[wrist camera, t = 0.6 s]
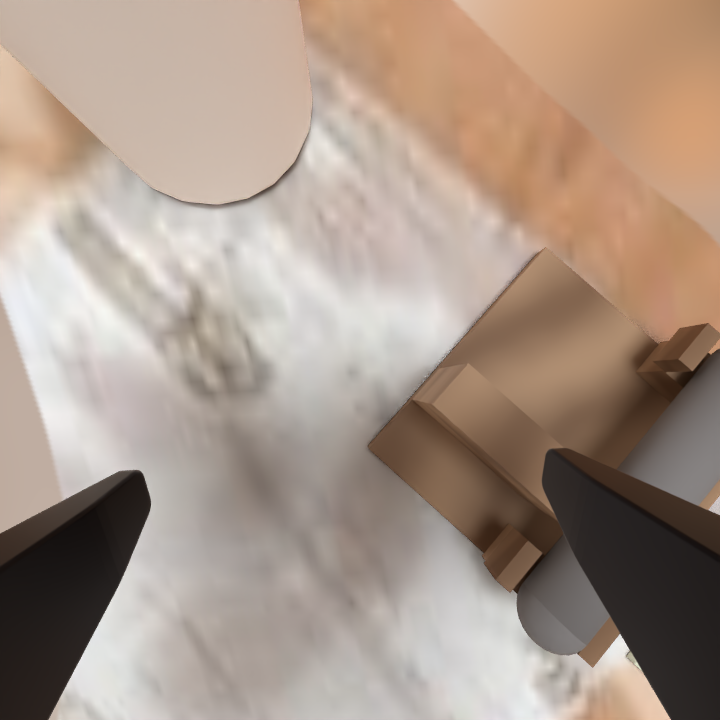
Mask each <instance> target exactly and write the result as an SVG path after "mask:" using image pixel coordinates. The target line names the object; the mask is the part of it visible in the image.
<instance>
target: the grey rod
mask: <svg viewBox="0 0 720 720" xmlns="http://www.w3.org/2000/svg"><path fill="white" fill-rule="evenodd" d="M616 470H619V471H621V472H623V473H625V474H628V475H630V476H632V477H634V478H637V479H639V480H641V481H643V482H646V483H648V484H650V485H652V486H655V487H657V488H659V489H661V490H664V491H666V492H668V493H670V494H673V495H675V496H677V497H679V498H682V499H684V500H686V501H688V502H691V503H693V504H695V505H697V506H699V505H700V503H701V502H702V501H703V500H704V498H705V497H706V496H707V495H708V493H709V492H710V491H711V490H712V488H713V487H714V486H715V485H716V483H717V482H718V481H719V480H720V349H718V350H716V351H715V352H714V353H712V354H711V355H710V356H709V357H708V359H707V360H706V361H705V362H704V363H703V365H702V366H701V367H700V368H699V370H698V371H697V372H696V373H695V374H694V376H693V377H692V378H691V379H690V380H689V382H688V383H687V384H686V385H685V387H684V388H683V389H682V390H681V391H680V393H679V394H678V395H677V396H676V397H675V399H674V400H673V401H672V402H671V404H670V405H669V406H668V407H667V408H666V410H665V411H664V412H663V413H662V414H661V416H660V417H659V418H658V419H657V421H656V422H655V423H654V424H653V425H652V427H651V428H650V429H649V430H648V431H647V433H646V434H645V435H644V436H643V438H642V439H641V440H640V441H639V442H638V444H637V445H636V446H635V447H634V448H633V450H632V451H631V452H630V453H629V455H628V456H627V457H626V458H625V459H624V461H623V462H622V463H621V464H620V466H619V467H618V468H617V469H616ZM517 612H518V616H519V619H520V622H521V624H522V626H523V628H524V630H525V631H526V633H527V634H528V636H529V637H530V638H531V639H532V640H533V641H534V642H535V643H536V644H537V645H539V646H540V647H542V648H543V649H545V650H547V651H549V652H551V653H554V654H558V655H572V654H576V653H578V652H580V651H582V650H583V649H584V648H585V647H586V646H587V645H588V644H589V642H590V641H591V640H592V639H593V637H594V636H595V635H596V633H597V632H598V631H599V630H600V628H601V627H602V626H603V625H604V623H605V622H606V621H607V620H608V618H609V617H610V616H609V614H608V612H607V610H606V609H605V607H604V605H603V604H602V602H601V600H600V599H599V597H598V595H597V594H596V592H595V590H594V588H593V587H592V585H591V583H590V582H589V580H588V578H587V577H586V575H585V573H584V572H583V570H582V568H581V566H580V565H579V563H578V561H577V559H576V558H575V556H574V554H573V552H572V550H571V548H570V546H569V544H568V542H567V540H566V538H565V535H564V534H563V535H562V536H561V537H560V538H559V540H558V541H557V542H556V543H555V544H554V546H553V547H552V548H551V549H550V551H549V552H548V553H547V554H546V555H545V557H544V558H543V559H542V560H541V561H540V563H539V564H538V565H537V566H536V568H535V569H534V570H533V571H532V572H531V574H530V575H529V576H528V577H527V579H526V580H525V581H524V582H523V584H522V585H521V587H520V589H519V591H518V594H517Z"/></svg>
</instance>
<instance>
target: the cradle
mask: <svg viewBox="0 0 720 720" xmlns="http://www.w3.org/2000/svg"><path fill="white" fill-rule="evenodd" d="M719 339H720V333H719V332H718V331H717V330H715V329H714V328H713V327H712V326H711V325H710V324H708V323H707V324H701V325H695V326H690V327H684V328H680V329H679V330H678V331H677V332H676V333H675V335H674V336H673V337H672V338H671V339H670V341H665V342H660V343H659V345H658V344H657V343H656V342H655V341H654V340H653V339H651V338H650V337H649V336H648V335H647V334H646V333H644V332H643V331H642V330H641V329H640V328H639V327H638V326H636V325H635V324H634V323H633V322H632V321H631V320H629V319H628V318H627V317H626V316H625V315H624V314H623V313H621V312H620V311H619V310H618V309H617V308H616V307H614V306H613V305H612V304H611V303H610V302H609V301H608V300H606V299H605V298H604V297H603V296H602V295H601V294H599V293H598V292H597V291H596V290H595V289H594V288H593V287H591V286H590V285H589V284H588V283H587V282H586V281H584V280H583V279H582V278H581V277H580V276H579V275H578V274H576V273H575V272H574V271H573V270H572V269H571V268H569V267H568V266H567V265H566V264H565V263H564V262H563V261H561V260H560V259H559V258H558V257H557V256H556V255H554V254H553V253H552V252H551V251H550V250H549V249H548V248H546V247H545V248H544V249H543V250H541V251H540V252H538V253H537V254H536V255H535V257H534V258H533V259H532V260H531V261H530V262H529V263H528V265H527V266H526V267H525V268H524V269H523V270H522V271H521V273H520V274H519V275H518V276H517V277H516V278H515V279H514V280H513V282H512V283H511V284H510V285H509V286H508V287H507V288H506V290H505V291H504V292H503V293H502V294H501V295H500V296H499V298H498V299H497V300H496V301H495V302H494V303H493V304H492V305H491V307H490V308H489V309H488V310H487V311H486V312H485V313H484V315H483V316H482V317H481V318H480V319H479V320H478V321H477V322H476V324H475V325H474V326H473V327H472V328H471V329H470V330H469V332H468V333H467V334H466V335H465V336H464V337H463V338H462V340H461V341H460V342H459V343H458V344H457V345H456V346H455V347H454V349H453V350H452V351H451V352H450V353H449V354H448V355H447V357H446V358H445V359H444V360H443V361H442V362H441V363H440V365H439V366H438V367H437V368H436V369H435V370H434V371H433V372H432V374H431V375H430V376H429V377H428V378H427V379H426V380H425V382H424V383H423V384H422V385H421V386H420V387H419V388H418V389H417V391H416V392H415V393H414V394H413V395H412V396H411V397H410V399H409V400H408V401H407V402H406V403H405V404H404V405H403V407H402V408H401V409H400V410H399V411H398V412H397V413H396V414H395V416H394V417H393V418H392V419H391V420H390V421H389V422H388V424H387V425H386V426H385V427H384V428H383V429H382V430H381V432H380V433H379V434H378V435H377V436H376V437H375V438H374V439H373V441H372V442H371V443H370V444H369V445H368V448H369V449H370V450H371V451H372V452H373V453H374V454H375V455H376V456H377V457H378V458H379V459H381V460H382V461H383V462H384V463H385V464H386V465H387V466H388V467H389V468H391V469H392V470H393V471H394V472H395V473H396V474H397V475H398V476H399V477H400V478H402V479H403V480H404V481H405V482H406V483H407V484H408V485H409V486H410V487H412V488H413V489H414V490H415V491H416V492H417V493H418V494H419V495H420V496H422V497H423V498H424V499H425V500H426V501H427V502H428V503H429V504H430V505H431V506H433V507H434V508H435V509H436V510H437V511H438V512H439V513H440V514H441V515H443V516H444V517H445V518H446V519H447V520H448V521H449V522H450V523H451V524H452V525H454V526H455V527H456V528H457V529H458V530H459V531H460V532H461V533H462V534H464V535H465V536H466V537H467V538H468V539H469V540H470V541H471V542H472V543H473V544H475V545H476V546H477V547H478V548H479V549H480V550H481V551H482V552H483V553H484V554H483V555H482V557H483V558H484V559H485V562H484V564H485V566H486V567H487V569H488V570H489V571H490V573H491V574H492V576H493V577H494V578H495V580H496V581H498V582H499V583H500V584H501V585H502V586H503V587H504V588H505V589H506V590H507V591H509V592H511V591H512V590H514V591H515V592H516V593H517V594H518V591H519V589H520V587H521V585H522V584H523V582H524V581H525V580H526V579H527V577H528V576H529V575H530V574H531V572H532V571H533V570H534V569H535V568H536V566H537V565H538V564H539V563H540V561H541V560H542V559H543V558H544V557H545V555H546V554H547V553H548V552H549V551H550V549H551V548H552V547H553V546H554V544H555V543H556V542H557V541H558V540H559V538H560V537H561V536H562V535H563V534H564V533H563V531H562V529H561V527H560V525H559V523H558V520H557V518H556V516H555V514H554V512H553V510H552V507H551V505H550V503H549V501H548V499H547V497H546V495H545V492H544V490H543V487H542V473H543V467H544V461H545V455H546V452H547V451H548V450H549V449H551V448H569V449H571V450H574V451H576V452H578V453H580V454H583V455H585V456H587V457H589V458H592V459H594V460H596V461H598V462H601V463H603V464H605V465H607V466H610V467H612V468H614V469H617V468H618V467H619V466H620V464H621V463H622V462H623V461H624V459H625V458H626V457H627V456H628V455H629V453H630V452H631V451H632V450H633V448H634V447H635V446H636V445H637V444H638V442H639V441H640V440H641V439H642V438H643V436H644V435H645V434H646V433H647V431H648V430H649V429H650V428H651V427H652V425H653V424H654V423H655V422H656V421H657V419H658V418H659V417H660V416H661V414H662V413H663V412H664V411H665V410H666V408H667V407H668V406H669V405H670V404H671V402H672V401H673V400H674V399H675V397H676V396H677V395H678V394H679V393H680V391H681V390H682V389H683V388H684V387H685V385H686V384H687V383H688V382H689V380H690V379H691V378H692V377H693V376H694V374H695V373H696V372H697V371H698V370H699V368H700V367H701V366H702V365H703V363H704V362H705V361H706V360H707V359H708V357H709V356H710V354H709V353H708V352H709V351H710V350H711V348H712V347H713V346H714V345H715V343H716V342H717V341H718V340H719ZM719 496H720V480H719V481H718V482H717V483H716V485H715V486H714V487H713V488H712V490H711V491H710V492H709V493H708V495H707V496H706V497H705V498H704V500H703V501H702V502H701V503H700V505H699V506H700V507H702V508H704V509H706V510H708V509H709V508H710V507H711V506H712V504H713V503H714V502H715V501H716V499H717V498H718V497H719ZM619 634H620V632H619V631H618V629H617V627H616V626H615V624H614V622H613V621H612V619H611V617H609V618H608V620H607V621H606V622H605V623H604V625H603V626H602V627H601V628H600V630H599V631H598V632H597V633H596V635H595V636H594V637H593V639H592V640H591V641H590V642H589V644H588V645H587V646H586V647H585V648H584V649H583V650H582V651H580V652H578V653H577V654H578V655H579V656H580V657H581V658H583V659H584V660H585V661H586V662H587V663H588V664H589V665H590V666H591V667H592V668H593V667H594V666H595V664H596V663H597V662H598V661H599V659H600V658H601V657H602V656H603V654H604V653H605V652H606V650H607V649H608V648H609V647H610V645H611V644H612V643H613V642H614V640H615V639H616V638H617V637H618V635H619Z"/></svg>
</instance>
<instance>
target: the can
mask: <svg viewBox="0 0 720 720" xmlns="http://www.w3.org/2000/svg"><path fill="white" fill-rule="evenodd" d="M0 44H1V45H2V46H3V47H4V48H5V49H6V50H7V51H8V52H9V53H10V54H11V55H12V56H13V57H14V58H15V59H16V60H17V61H18V62H19V63H20V64H21V65H22V66H23V67H24V68H25V69H26V70H28V71H29V72H30V73H31V74H32V75H33V76H34V77H35V78H36V79H37V80H38V81H39V82H40V83H41V84H42V85H43V86H44V87H45V88H46V89H47V90H48V91H49V92H50V93H51V94H52V95H54V96H55V97H56V98H57V99H58V100H59V101H60V102H61V103H62V104H63V105H64V106H65V107H66V108H67V109H68V110H69V111H70V112H71V113H72V114H73V115H74V116H75V117H76V118H77V119H78V120H80V121H81V122H82V123H83V124H84V125H85V126H86V127H87V128H88V129H89V130H90V131H91V132H92V133H93V134H94V135H95V136H96V137H97V138H98V139H99V140H100V141H101V142H102V143H103V144H104V145H105V146H107V147H108V148H109V149H110V150H111V151H112V152H113V153H114V154H115V155H116V156H117V157H118V158H119V159H120V160H121V161H122V162H123V163H124V164H125V165H126V166H127V167H128V168H130V169H131V170H132V171H133V172H134V173H135V174H136V175H137V176H139V177H140V178H141V179H142V180H143V181H144V182H145V183H147V184H148V185H149V186H150V187H151V188H153V189H155V190H158V191H160V192H162V193H165V194H167V195H169V196H172V197H174V198H176V199H179V200H181V201H186V202H195V203H205V204H215V205H219V204H224V203H229V202H233V201H238V200H243V199H248V198H250V197H251V196H253V195H255V194H257V193H259V192H260V191H262V190H264V189H266V188H268V187H269V186H271V185H273V184H274V183H275V182H276V181H277V180H278V179H279V178H280V177H281V176H282V175H283V174H284V173H285V172H286V171H287V170H288V169H289V168H290V166H291V165H292V164H293V163H294V162H295V160H296V158H297V156H298V154H299V152H300V150H301V147H302V145H303V143H304V141H305V139H306V137H307V135H308V132H309V130H310V121H311V112H312V103H313V98H312V90H311V83H310V76H309V69H308V62H307V55H306V48H305V41H304V34H303V27H302V20H301V13H300V6H299V0H0Z"/></svg>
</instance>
